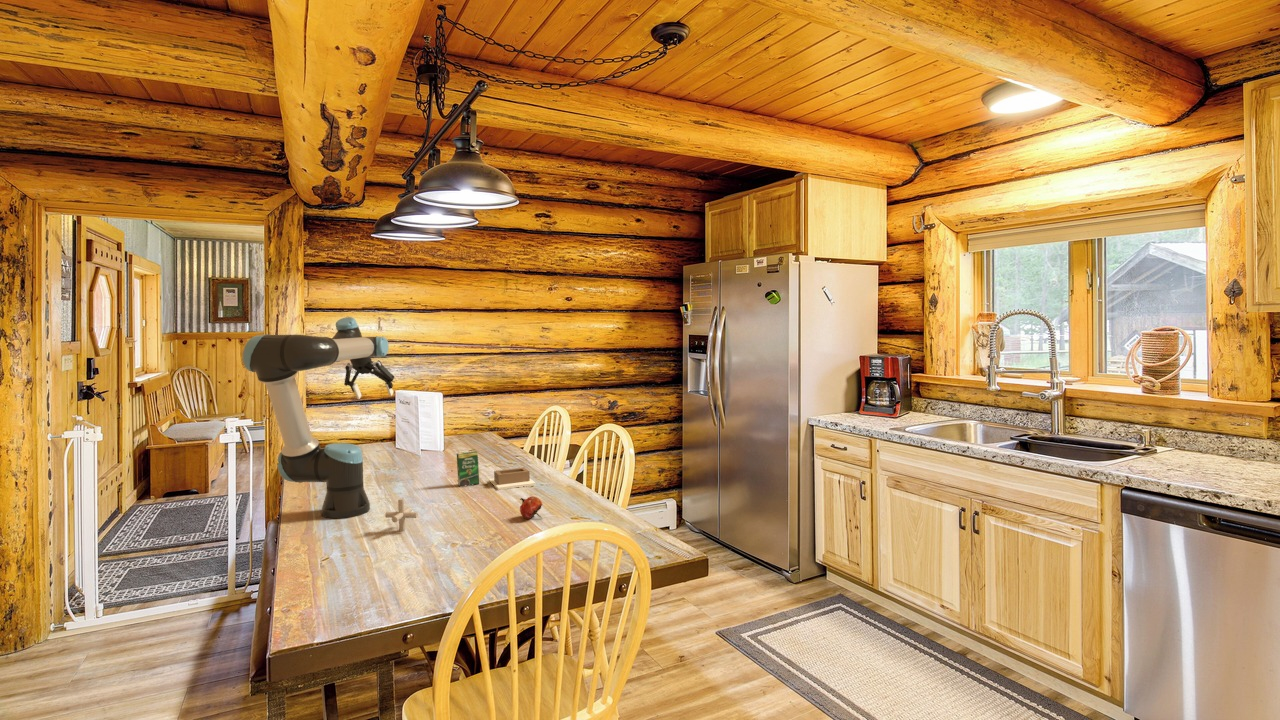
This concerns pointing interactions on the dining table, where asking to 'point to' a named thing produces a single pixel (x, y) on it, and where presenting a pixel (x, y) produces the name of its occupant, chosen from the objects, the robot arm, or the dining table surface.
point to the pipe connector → (401, 514)
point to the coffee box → (467, 468)
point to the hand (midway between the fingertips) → (375, 395)
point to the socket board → (512, 478)
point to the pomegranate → (530, 507)
